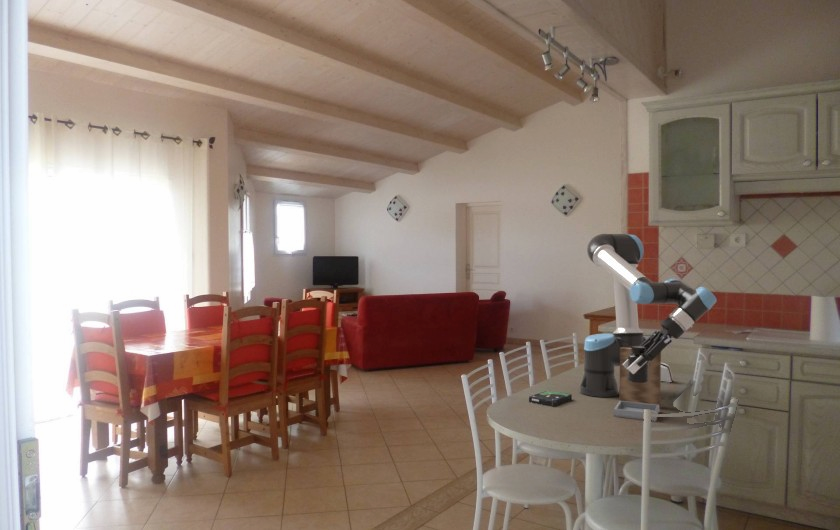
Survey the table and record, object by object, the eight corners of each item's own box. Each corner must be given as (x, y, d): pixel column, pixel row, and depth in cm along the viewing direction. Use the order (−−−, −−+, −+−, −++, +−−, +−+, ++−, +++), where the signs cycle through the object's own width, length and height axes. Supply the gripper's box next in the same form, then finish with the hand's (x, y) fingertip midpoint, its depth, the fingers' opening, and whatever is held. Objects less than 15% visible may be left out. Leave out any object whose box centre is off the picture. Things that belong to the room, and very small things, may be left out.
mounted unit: (619, 404, 226) (620, 348, 225) (621, 401, 231) (622, 346, 231) (659, 408, 220) (660, 351, 219) (660, 405, 225) (661, 348, 224)
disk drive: (553, 408, 221) (572, 401, 232) (553, 401, 221) (572, 393, 232) (528, 403, 228) (548, 396, 239) (528, 396, 228) (548, 389, 239)
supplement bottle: (627, 382, 210) (627, 347, 210) (628, 378, 216) (628, 344, 216) (648, 383, 207) (648, 348, 207) (648, 380, 214) (649, 346, 214)
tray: (613, 416, 209) (613, 409, 209) (619, 407, 221) (619, 400, 221) (656, 421, 203) (656, 413, 203) (659, 412, 215) (659, 405, 215)
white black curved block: (674, 381, 269) (672, 361, 266) (671, 386, 265) (669, 366, 263) (636, 376, 279) (634, 356, 277) (633, 381, 276) (630, 361, 273)
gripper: (694, 335, 200) (642, 383, 202) (675, 328, 220) (628, 371, 222) (677, 319, 201) (626, 366, 203) (660, 313, 220) (613, 356, 222)
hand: (627, 369), depth 212 cm, fingers closed on supplement bottle, 7 cm apart
